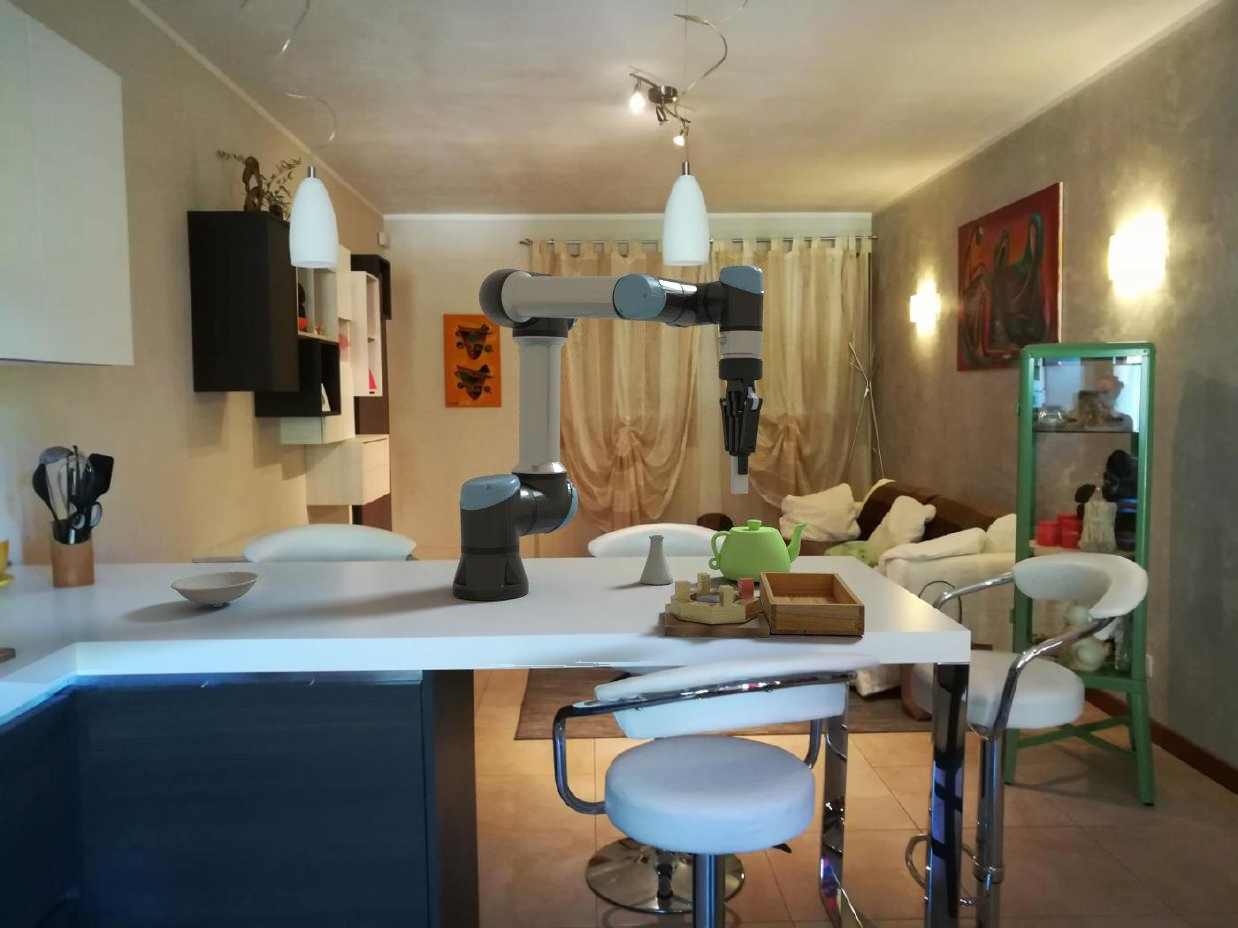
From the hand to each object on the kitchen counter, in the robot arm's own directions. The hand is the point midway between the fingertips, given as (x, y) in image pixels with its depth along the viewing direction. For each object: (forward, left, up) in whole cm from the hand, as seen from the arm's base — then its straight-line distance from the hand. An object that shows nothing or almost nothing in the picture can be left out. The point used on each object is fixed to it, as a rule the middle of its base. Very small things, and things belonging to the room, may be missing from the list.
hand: (739, 493), depth 155 cm
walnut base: (-4, -4, -22) cm, 23 cm away
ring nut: (-4, -4, -20) cm, 21 cm away
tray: (+13, +4, -23) cm, 26 cm away
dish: (-97, +5, -22) cm, 100 cm away
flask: (-15, +32, -22) cm, 42 cm away
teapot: (+7, +35, -22) cm, 42 cm away
